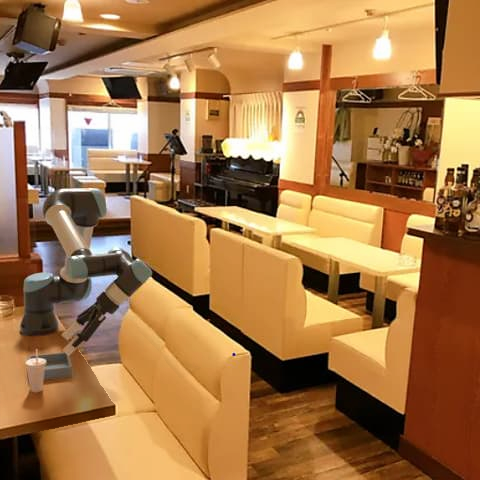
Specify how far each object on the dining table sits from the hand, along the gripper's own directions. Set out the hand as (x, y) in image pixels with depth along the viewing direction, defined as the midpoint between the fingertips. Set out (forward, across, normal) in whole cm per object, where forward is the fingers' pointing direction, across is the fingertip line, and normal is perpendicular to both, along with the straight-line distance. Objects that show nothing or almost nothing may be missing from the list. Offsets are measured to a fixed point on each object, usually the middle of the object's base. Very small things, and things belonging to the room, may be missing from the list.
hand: (64, 345), depth 184 cm
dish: (+14, +14, -7) cm, 21 cm away
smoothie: (+17, 0, -4) cm, 17 cm away
